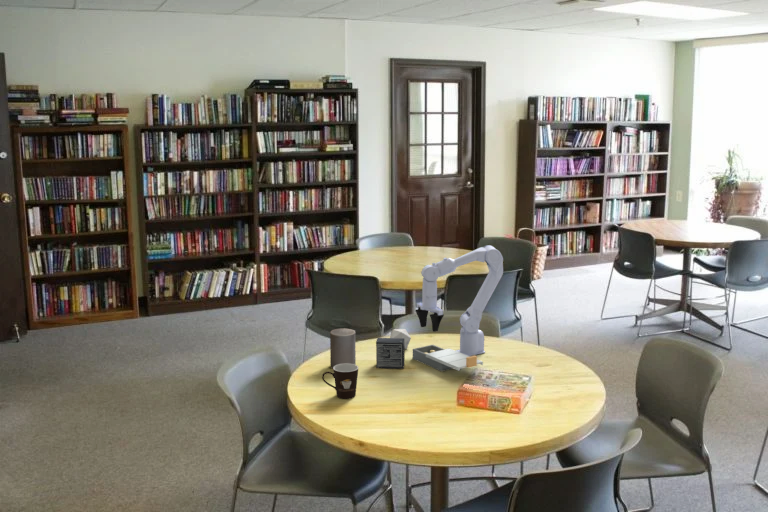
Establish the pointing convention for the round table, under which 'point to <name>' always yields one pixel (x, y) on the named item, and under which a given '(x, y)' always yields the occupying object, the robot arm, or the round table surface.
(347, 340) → the pillar candle
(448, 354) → the lid
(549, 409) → the round table surface
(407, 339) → the die
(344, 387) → the coffee mug
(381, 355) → the small box
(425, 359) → the tub
